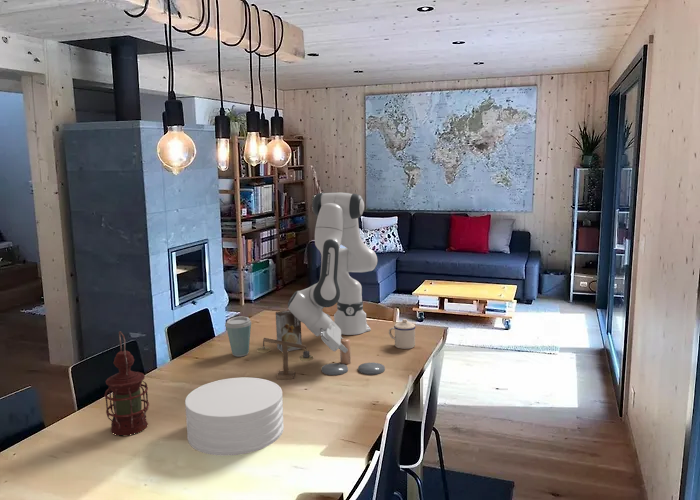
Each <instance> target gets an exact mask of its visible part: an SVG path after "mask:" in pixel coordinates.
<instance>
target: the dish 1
mask: <svg viewBox="0 0 700 500" xmlns="http://www.w3.org/2000/svg"><path fill="white" fill-rule="evenodd" d="M348 371H349V367H348V365H347V364H342V363H340V362H331V363H326V364H324V365H322V366H321V373H323V374H324V375H327V376H340V375H344V374H346V373H348Z"/></svg>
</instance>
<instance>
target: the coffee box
mask: <svg viewBox="0 0 700 500" xmlns="http://www.w3.org/2000/svg"><path fill="white" fill-rule="evenodd" d="M275 325H276V327H275V328H276V340H279V341H284V342H290V343H295V344H300V345H303V344H302V343H303V342H302V341H303V340H302V322H301V321H299V320H298V319H297V318H296V317H295V316H294V315H293V314H292V313H291V311H290V310H289V309H288V310H282V311H277V312H275ZM276 346H277V350H279V351H280V352H282V353H283V346H282V345H280V344H276ZM287 349H288V352H291V351H296V350H302V348H296V347H291V346H287Z"/></svg>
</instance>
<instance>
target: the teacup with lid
mask: <svg viewBox="0 0 700 500" xmlns="http://www.w3.org/2000/svg"><path fill="white" fill-rule="evenodd" d="M392 330H394V336H393V334H392ZM388 334H389V336H390V338H391V339H393V340H394V347H395V348H397V349H403V350H408V349H413V348H414V347H415V346H416V325H415V323H412V322H410V321H408V319H407V318H402V321H400V322H397V323H395V324H394V326H393V327H390V328H389V330H388Z"/></svg>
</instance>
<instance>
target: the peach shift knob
mask: <svg viewBox="0 0 700 500" xmlns="http://www.w3.org/2000/svg"><path fill="white" fill-rule="evenodd" d="M341 343H342V345H344V346H346V347H347V348H348V351H347V352H346V353H344V352H343V351H342V350H340V349H339V352H340V353H339V354H340V355H339V356H340V358H339V361H340V362H339V363H341V364H345V365H348V364H351V339H350V338H343V339H341Z"/></svg>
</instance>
